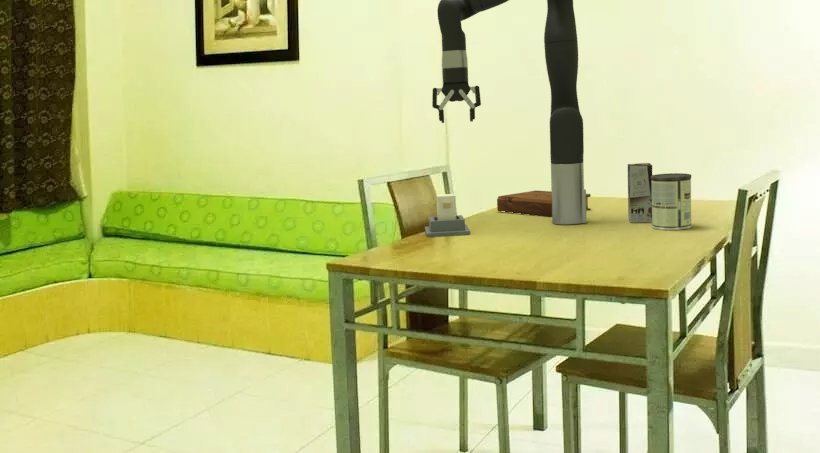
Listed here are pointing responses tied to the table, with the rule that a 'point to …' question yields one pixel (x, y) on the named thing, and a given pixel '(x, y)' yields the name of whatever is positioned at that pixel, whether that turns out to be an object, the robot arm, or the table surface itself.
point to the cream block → (446, 207)
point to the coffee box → (639, 192)
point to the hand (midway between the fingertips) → (457, 122)
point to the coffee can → (671, 201)
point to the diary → (529, 203)
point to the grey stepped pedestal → (447, 227)
